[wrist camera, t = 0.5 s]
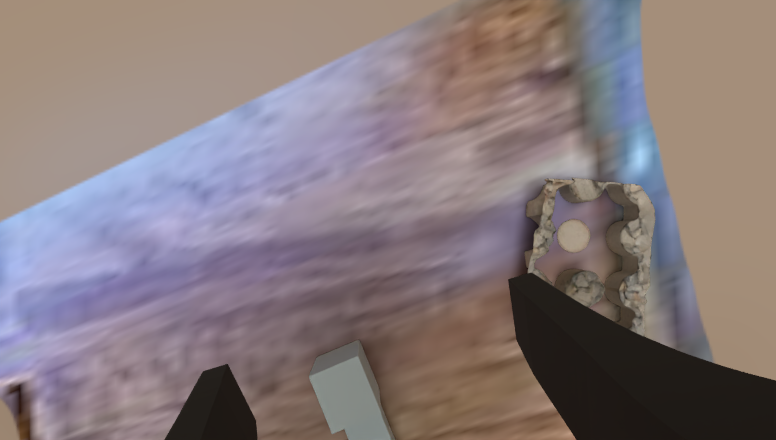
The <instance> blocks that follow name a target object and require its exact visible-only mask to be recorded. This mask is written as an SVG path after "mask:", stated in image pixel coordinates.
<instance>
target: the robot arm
mask: <svg viewBox="0 0 776 440" xmlns="http://www.w3.org/2000/svg"><path fill="white" fill-rule="evenodd" d="M508 281H509V288H510V296H511V303H512V310H513V317H514V324H515V332H516V339H517V342H518V344H519V346H520V348H521V350H522V352H523V354H524V356H525V358H526V360H527V362H528V364H529V366H530V368H531V370H532V372H533V374H534V376H535V377H536V379H537V380H538V382H539V383H540V385H541V387H542V388H543V390H544V391H545V393H546V394H547V396H548V397H549V399H550V400H551V402H552V403H553V405H554V406H555V408H556V409H557V411H558V412H559V414H560V415H561V417H562V418H563V420H564V421H565V423H566V424H567V426H568V427H569V429H570V430H571V432H572V433H573V435H574V436H575V438H576V439H577V440H776V381H775V380H771V379H767V378H764V377H759V376H756V375H752V374H748V373H745V372H741V371H738V370H734V369H731V368H727V367H724V366H721V365H718V364H715V363H712V362H709V361H706V360H703V359H700V358H697V357H694V356H691V355H688V354H686V353H683V352H680V351H677V350H675V349H672V348H670V347H668V346H665V345H663V344H660V343H658V342H656V341H653V340H651V339H648V338H646V337H644V336H642V335H639V334H637V333H635V332H633V331H631V330H629V329H627V328H625V327H623V326H621V325H619V324H617V323H615V322H613V321H611V320H609V319H608V318H606V317H604V316H602V315H600V314H599V313H597V312H595V311H593V310H592V309H590V308H588V307H586V306H585V305H583V304H581V303H580V302H578V301H576V300H575V299H573V298H571V297H570V296H568V295H567V294H565V293H563V292H562V291H560V290H559V289H557V288H555V287H554V286H552V285H551V284H549V283H548V282H546V281H544V280H543V279H541V278H540V277H538V276H537V275H535V274H533V273H527V274H524V275H521V276H518V277H514V278H511V279H508ZM165 440H257V427H256V420H255V418H254V416H253V414H252V412H251V410H250V408H249V406H248V404H247V402H246V400H245V398H244V396H243V394H242V392H241V390H240V388H239V386H238V384H237V382H236V380H235V378H234V376H233V374H232V372H231V370H230V368H229V366H228V364H226V365H223V366H219V367H216V368H213V369H209V370H206V371H203V373H202V374H201V376H200V378H199V379H198V381H197V383H196V385H195V386H194V388H193V390H192V392H191V394H190V396H189V397H188V399H187V401H186V403H185V405H184V406H183V408H182V410H181V412H180V414H179V415H178V417H177V419H176V421H175V423H174V424H173V426H172V428H171V429H170V431H169V433H168V435H167V436H166V438H165Z"/></svg>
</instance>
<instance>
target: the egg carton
mask: <svg viewBox="0 0 776 440" xmlns="http://www.w3.org/2000/svg"><path fill="white" fill-rule="evenodd" d="M572 180H573V181H572ZM572 180H560V179H545V181H547V184H546V185H544V186H543V189H542V191H541V193H540V195H539V196H538V197H537V198H535V199H534V200H531V201H528V203H527V206H526V216H527V217H528V218H531V219H532V220H534V221H535V222H536V223H537V224H538V225H539V228H538V229H536V230H535V233H534V243H533V249H531V250H529V251H525V261H526V267H527V268H528V273H533V274H535V275H537V276H538V277H540V278H541V279H543V280H544V281H546V282H548V283H549V284H551V285H552V282H551V281H549V280H548V279H547V277H546V276H545V275H544V274H543V273H542V272H541V271H540V270H538V269H535V268H534V263H535V261H536V259H538V258H540V257H542V256H543V255H545V254H546V253H547V252H548V251H549V248H548V247H549V246H550V245H551V244H552V242H553V241H554V240H553V234H554V233H555V232H556V229H555V227H554V224H553V222H552V221H551V218H552V215H553V211H554V205H555V195H556V192H557V190H558V188H559V191H560V194H561V196H562V197H563V198H564V199H565V200H566V201H568V202H571V203H580V202H589V201H592V200H595V199H596V198H598V197H599V196H600V195H601V194H602V193H603V190H604V188H605V189H606V190H607V192H608V195H609V197H610V198H611V200H612V201H613V202H615V203H616V204H619V205H622V206H623V207H624V218H623V221H617V222H615V223H613V224H612V225H611V226H610V227H609V229H608V231H607V233H606V242H607V245H608V247H609V248H610V249H611V250H612V251H613V252H614V253H616V254H619V255H621V256H622V270H621V271H618V272H615V273H613V274H611V275H610V276H609V277H608V278H607V280H606V282H605V286H604V284H603V283H602V282H601V280H600V279H599V277H598V276H597V275H596V274H595V273H593V272H591V271H584V270H578V269H568V270H565V271H563V272H562V273H561V274H560V275H559V276H558V278H557V280H556V283H555V288H557V289H559V290H560V291H562V292H563V293H565V294H567V295H568V296H570V297H571V298H573V299H575V300H576V301H578V302H580V303H581V304H583V305H585V306H586V307H591V306H592V305H594V304H595V303H597V302H598V301H600V299H601V298H602V296H603V294H604V292H605V295H606V297H607V298H608V300H609V301H611V302H612V303H613V304H615V305H618V306H620V307H621V317H620V321H616V322H615V323H617V324H619V325H621V326H623V327H625V328H627V329H629V330H631V331H633V332H635V333H637V334H639V335H642V336H644V330H645V318H644V306H645V304H646V303H647V300H646V298H645V295H646V292H647V290H648V288H649V286H650V277H649V267H650V260H651V242H652V236H653V230H654V224H655V209H654V207H653V205H652V202H651V201H650V199H649V198H648V196H647V195H646V193H645V192H644V190H643V189H642V187H641V186H639V185H636V184H622V183H614V182H597V181H593V180H587V179H577V178H572ZM589 239H590V231H589V229H588V227H587V226H586V225H585V224H584V223H583V222H582V221H580V220H577V219H570V220H568V221H565V222H564V223H562V224H561V226H560V227H559V228H558V232H557V240H558V243H559V245H560V246H561V247H562V248H563V249H564V250H565V251H567V252H571V253H575V252H579V251H581V250H583V249H584V248H585V247H586V246H587V245H588V242H589Z"/></svg>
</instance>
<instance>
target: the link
mask: <svg viewBox="0 0 776 440" xmlns="http://www.w3.org/2000/svg"><path fill="white" fill-rule="evenodd" d="M309 379H310V381H311V383H312V386H313V388H314V391H315V393H316V396H317V398H318V401H319V403H320V406H321V408H322V410H323V413H324V415H325V418H326V420H327V423H328V425H329V428H330V430H331V433H332V434H334V433H336V432H339V431H341V430H343V429H345V432H346V434H347V437H348V439H349V440H395V438H394V435H393V433H392V430H391V428H390V426H389V423H388V421H387V418H386V416H385V413H384V411H383V408H382V406H381V403H380V391H379V387H378V384H377V382H376V379H375V377H374V374H373V372H372V369H371V367H370V365H369V362H368V360H367V357H366V355H365V352H364V350H363V347H362V345H361V343H360V340H356V341H354V342H351V343H349V344H347V345H344V346H342V347H339V348H337V349H335V350H332V351H330V352H328V353H325V354H323V355H320V356H318V357H317V358H316V360H315V363H314V365H313V367H312V370H311V372H310V375H309Z"/></svg>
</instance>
